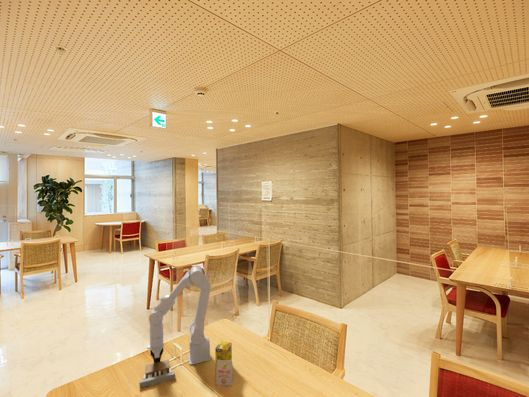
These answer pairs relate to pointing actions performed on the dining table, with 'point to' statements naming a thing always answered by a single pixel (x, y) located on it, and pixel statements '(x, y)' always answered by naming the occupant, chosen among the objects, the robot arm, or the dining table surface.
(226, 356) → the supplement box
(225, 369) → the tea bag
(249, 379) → the dining table surface
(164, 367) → the brown flat block
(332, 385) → the dining table surface
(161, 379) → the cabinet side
